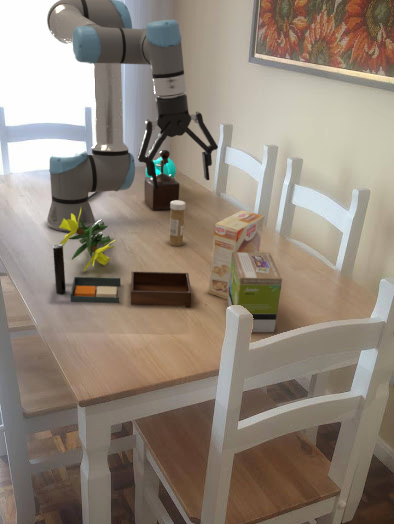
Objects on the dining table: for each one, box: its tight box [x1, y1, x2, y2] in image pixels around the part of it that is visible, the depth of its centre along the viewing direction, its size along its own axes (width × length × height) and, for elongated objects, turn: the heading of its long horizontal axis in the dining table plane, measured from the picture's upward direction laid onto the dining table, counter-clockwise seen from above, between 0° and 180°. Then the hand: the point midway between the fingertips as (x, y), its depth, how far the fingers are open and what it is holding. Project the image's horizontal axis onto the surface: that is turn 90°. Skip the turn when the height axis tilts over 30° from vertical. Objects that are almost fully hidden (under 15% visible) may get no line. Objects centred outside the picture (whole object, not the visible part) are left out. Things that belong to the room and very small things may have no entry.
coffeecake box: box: [208, 209, 265, 301], centre depth 152 cm, size 15×7×20 cm, turn 148°
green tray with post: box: [52, 244, 121, 304], centre depth 144 cm, size 10×16×13 cm, turn 95°
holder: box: [130, 271, 193, 308], centre depth 149 cm, size 12×15×4 cm
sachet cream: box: [95, 285, 118, 297], centre depth 148 cm, size 4×5×1 cm
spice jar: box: [168, 199, 186, 247], centre depth 178 cm, size 5×5×14 cm
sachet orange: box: [74, 285, 97, 297], centre depth 147 cm, size 4×5×1 cm
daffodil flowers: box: [59, 209, 116, 273], centre depth 163 cm, size 17×15×35 cm
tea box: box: [227, 252, 283, 333], centre depth 139 cm, size 15×10×15 cm, turn 5°
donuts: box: [145, 156, 177, 179], centre depth 234 cm, size 10×10×10 cm
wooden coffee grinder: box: [143, 149, 180, 211], centre depth 210 cm, size 16×11×18 cm
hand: (181, 183), depth 148 cm, fingers open, 13 cm apart
